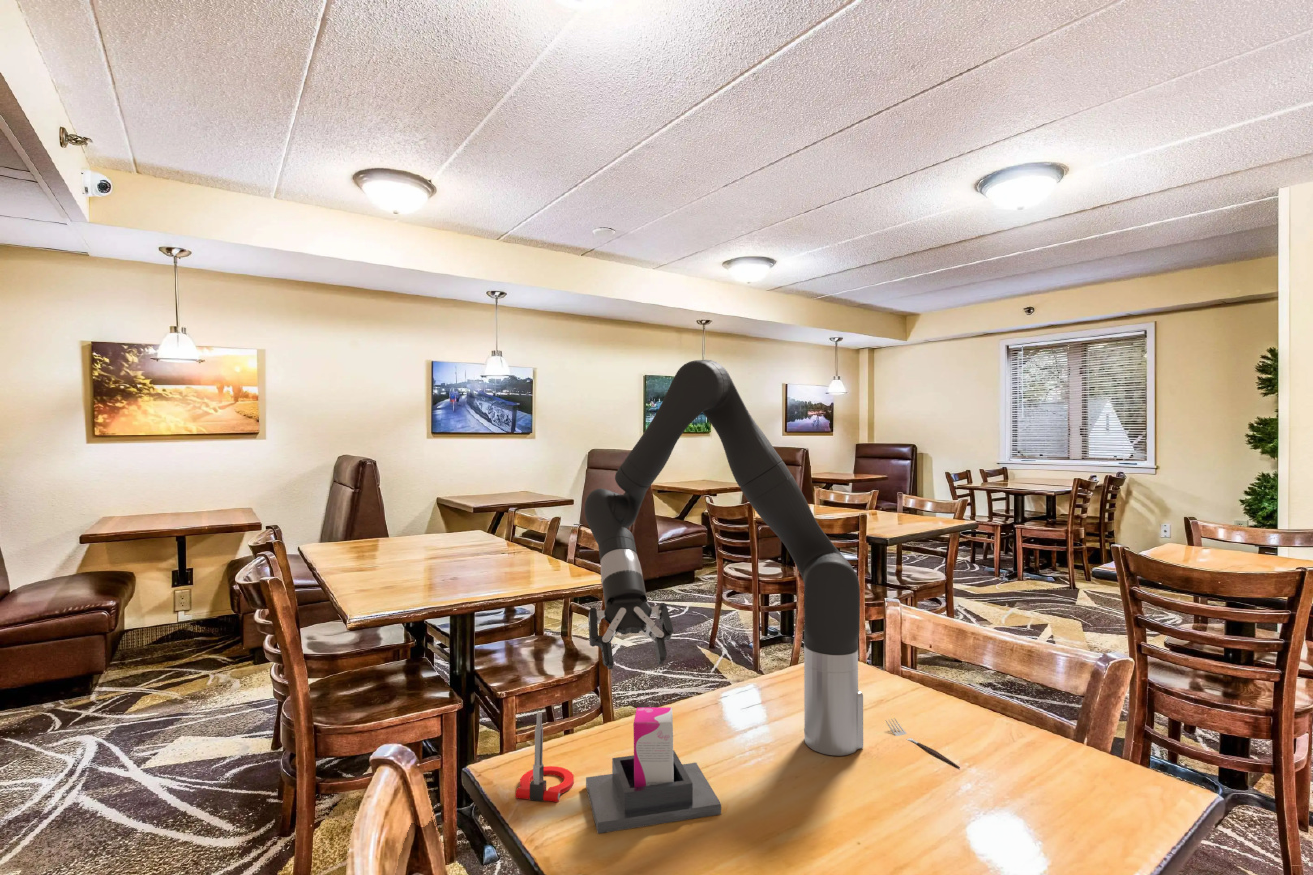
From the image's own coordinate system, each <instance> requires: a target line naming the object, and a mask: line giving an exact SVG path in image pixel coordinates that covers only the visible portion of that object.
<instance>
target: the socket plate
mask: <svg viewBox="0 0 1313 875" xmlns="http://www.w3.org/2000/svg"><path fill="white" fill-rule="evenodd" d="M611 760H612V762H611V763H612V764H611V766H612V768H611V769H612V772H611V773H608V774H603V775H601V774H600V775H593V776H587V777H585V788H586V792H587V797H588V801H589V804H590V808H591V812H592V816H593V820H594V824H595V827H596V832H597V834H602V833H603V834H604V833H610V832H611V833H612V832H617V831H624V830H628V829H636V828H642V827H648V826H654V825H655V826H656V825H660V824H667V823H674V822H680V821H686V820H694V819H698V818H699V819H700V818H705V817H706V818H707V817H712V816H718V815H722V803H721V801H720V800H719V798H718V796H717V794H716V793H715V791H714V790H713V788H712V787H711V784H710V783H709V781H708V779H707V778H706V777H705V775H704V773H703V771H702V770H701V768H700V767H699V765H698V762H691V763H684V764H683V763H682V762H681V760H680V759H679V756H678V754H677V753H676V751H675V750H674V749H673V768H674V782H670V783H663V784H656V785H649V786H642V787H635V788H634V754H632V755H628V756H627V755H626V756H619V757H612V759H611Z"/></svg>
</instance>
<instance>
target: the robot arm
mask: <svg viewBox="0 0 1313 875" xmlns="http://www.w3.org/2000/svg"><path fill="white" fill-rule="evenodd" d="M749 412H750V411H748V409H747V407H746V405H745V403H744V401H743V399H742V397H741V395H740V394H739V391H738V389H737V388H736V385H735V384H734V382H733V379H732V378H731V376H730V374H729V372H728V371H727V369H726V368H725V367H724V366H723V365H721V363H718V362H717V361H715V360H712V359H697V360H692V361H688V362H686V363H685V364H683V365H682V366H680V367H679V368H678V370H677V371H676V373H675V375H674V377H673V379H672V381H671V383H670V384H669V387H668V388H667V392H666V393H665V396H664V398H663V399H662V402H661V403H660V406H659V407H658V410H657V411H656V412H655V415H654V416H653V418H652V420H651V422H650V423H649V425H648V426H647V428H646V430H645V431H644V432H643V434H641V437H640V438H639V439H638V441H637V443H635V445H634V446H633V448H631V450H630V452H629V453H628V455H627V456H626V458H625V459H624V461H623V462H622V463H621V465H620V466H619V467H618V469H617V471H616V472H615V475H614V481H615V483H616V485H617V486H618V487H619V488H620V489H621V490H622V491H624V493H623V494H620V493H617V492H614V491H612V490H609V489H607V488H603V487H602V488H596V489H594V490H592V491H591V492H590V493H589V494H588V495H587V497H586V499H585V502H584V517H585V520H586V523H587V525H588V527H589V529H590V531H591V534H592V536H593V538H594V540H595V543H597V546H598V556H599V560H600V561H599V562H600V583H601V586H602V592H603V598H604V600H603V601H604V607H605V609H604V610H597V609H596V608H595V607H591V608H590V609H589V612H588V635H589V636H588V638H589V641H588V642H589V645H590V647H599V648H600V649H601V656H602V664H603V666H604V667H607V670H613V668H614V664H615V662H614V655H613V650H612V649H613V648H612V643H611V642H612V641H613V640H614V639H615V637H616V635H617V633H619V634H621V636H622V635H628V634H639V633H640V632H641V633H642V634H644V635H645V636H646V637H647V638H650V639H651V641H653V643H654V650H655V656H656V661H657V665H664V662H665V661H666V659H667V655H668V653H667V648H666V643H665V641H670V640H671V639H672V636H673V634H674V626H673V624H672V621H671V617H670V613H669V610H668V605H667V603H666V602H661V603H660V604H659V605H655V606H651V605H650V603H649V601H648V597H647V596H648V595H647V593H646V587H645V580H644V577H643V570H642V565H641V563H640V560H639V556H638V553H637V547H636V542H635V537H634V535H633V533H632V532H631V531H630V529H628V528H631V526H633V524H634V523H635V521H636V519H637V517H638V515H639V512H640V510H641V506H642V503H643V501H644V499H645V497H646V494H647V491H648V490H649V488H650V487H651V486H652V484H653V483H654V482H655V480H656V479H657V477H658V476H659V475H660V473H661V472H662V471H663V469H664V467H665V466H666V464H667V462H668V461H669V459H670V457H671V455H672V452H673V451H674V448H675V447H676V444H677V442H678V441H679V439H680V438H681V436H682V435H683V433H684V432H685V431H686V429H687V428H688V427H690V425H691V424H692V423H693V422H694V421H695V420H696V419H697V417H699V416H700V415H701V414H703V415H704V417H705V418H706V420H707V421H708V422H709V424H710V425H711V426H712V428H713V429H714V430H715V432H716V434H717V435H718V437H719V439H720V441H721V444H722V447H723V450H724V452H725V456H726V459H727V463H728V466H729V468H730V471H731V474H732V476H733V478H734V480H735V482H736V484H737V486H738V487H739V489H740V490H741V492H742V494H743V495H744V497H745V499H746V500H747V501H748V503H749V504H750V505H751V507H752V508H753V510H754V511H755V512H756V513H757V515H758V516H759V517H760V518H761V520H762V521H763V522H764V523H765V525H767V526H768V528H769V529H770V530H771V531H772V532H773V533H774V534H775V535H776V536H777V537H778V538H779V540H780V541H781V542H782V543H783V545H784V546H785V548H786V550H787V551H788V553H789V555H790V557H791V558H792V561H794V564H795V566H796V568H797V570H798V572H799V574H800V576H801V578H802V581H803V585H804V586H803V587H804V588H803V590H804V592H803V593H804V596H803V597H804V625H803V626H804V627H803V629H804V631H803V655H804V656H803V661H804V662H803V664H804V666H803V667H804V669H803V670H804V671H803V673H804V674H803V675H804V676H803V677H804V678H803V680H804V681H803V682H804V683H803V684H804V688H803V689H804V693H803V694H804V695H803V696H804V698H803V699H804V700H803V701H804V703H803V704H804V707H803V708H804V710H803V712H804V725H803V726H804V727H803V731H804V732H803V733H804V743H805V744H806V746H807V747H809V748H810V749H811V750H813V751H815V752H816V753H817V752H818V753H820V754H823V755H828V756H835V757H837V756H839V757H840V756H848V755H852V754H854V753H855V752H856V751H857V750H859V749H864V694H863V692H862V691H860V690H859V637H860V623H861V622H860V621H861V620H860V619H861V618H860V617H861V616H860V615H861V588H860V580H859V578H858V575H857V573H856V571H855V570H854V567H853V566H852V564H851V563H850V562H849V561H848V559H846V557H844V555H843V553H841V552H840V550H839V549H838V548H837V547H836V546H835V544H834V543H833V542H832V541H831V540H830V538H829V536H827V534H826V533H825V532H824V530H823V529H822V527H821V526H820V525H819V523H818V521H817V520H816V518H815V516H814V514H813V512H812V510H811V507H810V505H809V503H808V501H807V499H806V496H805V495H804V494H803V491H802V489H801V488H800V485H799V484H798V483H797V480H796V479H795V478H794V476H793V474H792V472H791V471H790V469H789V468H788V467H787V465H786V464H785V462H784V461H783V459H782V458H781V456H780V455H779V453H778V452H777V451H776V449H775V448H774V446H773V445H772V443H771V442H770V440H769V439H768V437H767V436H766V434H765V433H764V431H763V430H762V429H761V427H760V426H759V425H758V424H757V422H756V421H755V419H754V418H753V417H752V415H751V414H750V413H749ZM652 615H653V616H654V617H655V619H657V620H659V622H660V626H661V628H660V627H658V626H657V624H656V623H655V621H654V620H652V619H651V618H650V617H651V616H652ZM602 619H604V620H605V621H606V622H607V623H608V624H609V626H608V627H607V630H606V631H605V633H604V635H603V636H602V635H599V629H598V625H599V624H601V620H602Z"/></svg>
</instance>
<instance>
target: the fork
mask: <svg viewBox="0 0 1313 875" xmlns="http://www.w3.org/2000/svg"><path fill="white" fill-rule="evenodd" d="M893 719H894V720H893ZM885 722H886V724H887V725H888V727H889V729H890V730H891V732H892V733H893V735H894V736H896V737H899V736H905V735H907V734H908V733H907V732H906V731H905V730H904V729H903V727H902V725H901V724H900V723H899V722H898V721H897V719H896V718H895V717H894V718H891V721H890V719H888V721H887V719H886V720H885ZM888 722H889V723H890V724H889V723H888ZM895 722H896V723H895ZM898 726H899V727H898ZM906 741H909V742H912V743H914V744H915V745H917V746H918V747H920V748H921V749H923V751H925V752H927V753H928V754H931V755H932V756H934V757H935V758H937V759H939V760H941V761H943V762H945V763H947V764H949V765H950V766H953V767H955V768H956V769H961V767H960V766H959V765H958V764H957V763H955V762H954V761H952V760H950V759H949V758H947V757H946V756H944V755H942V754H941V753H940V752H939V751H936V749H933V748H932V747H929V746H927V745H925V744H923V743H921V742H919V741H916V740H914V738H912V737H911V738H907V739H906Z"/></svg>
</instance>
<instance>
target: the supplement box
mask: <svg viewBox="0 0 1313 875" xmlns="http://www.w3.org/2000/svg"><path fill="white" fill-rule="evenodd" d="M673 716H674V715H673V707H672V706H671V707H665V706H664V707H652V706H651V707H650V706H649V707H636V710H635V715H634V718H633V755H634V788H635V787H642V786H649V785H656V784H663V783H670V782H674V768H673V750H674V724H673V722H674V720H673V719H674V718H673Z"/></svg>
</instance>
